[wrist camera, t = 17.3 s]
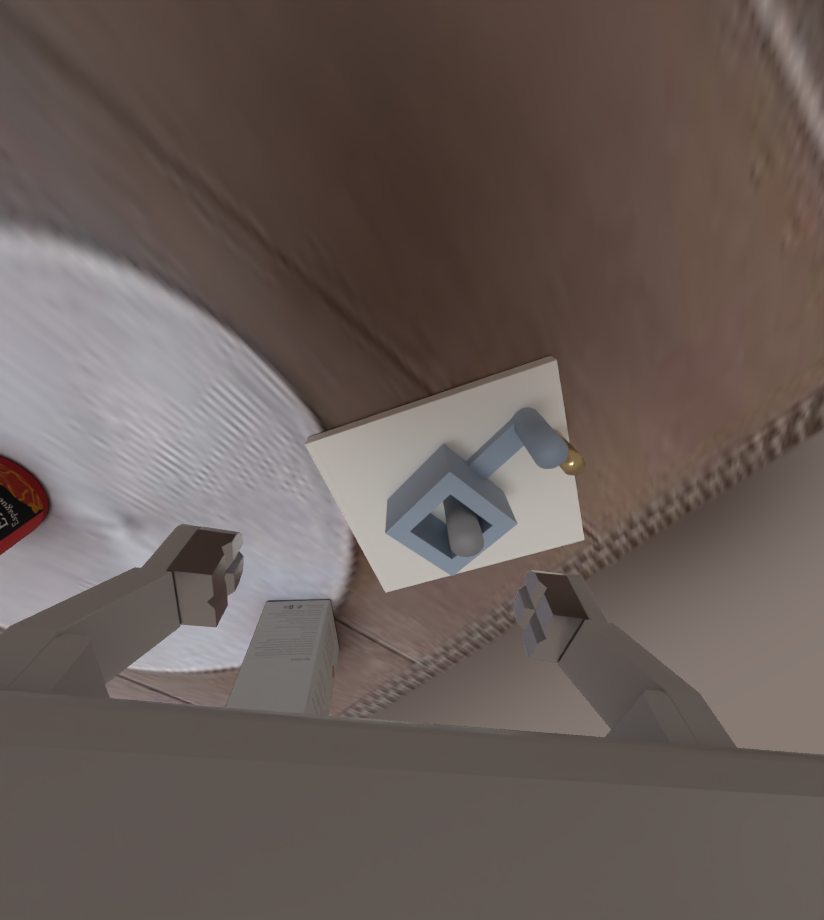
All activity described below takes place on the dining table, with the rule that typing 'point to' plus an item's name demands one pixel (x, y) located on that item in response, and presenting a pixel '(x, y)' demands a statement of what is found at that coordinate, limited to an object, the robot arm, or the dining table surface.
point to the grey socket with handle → (468, 489)
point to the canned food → (19, 504)
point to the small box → (289, 660)
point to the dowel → (572, 459)
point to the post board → (464, 431)
